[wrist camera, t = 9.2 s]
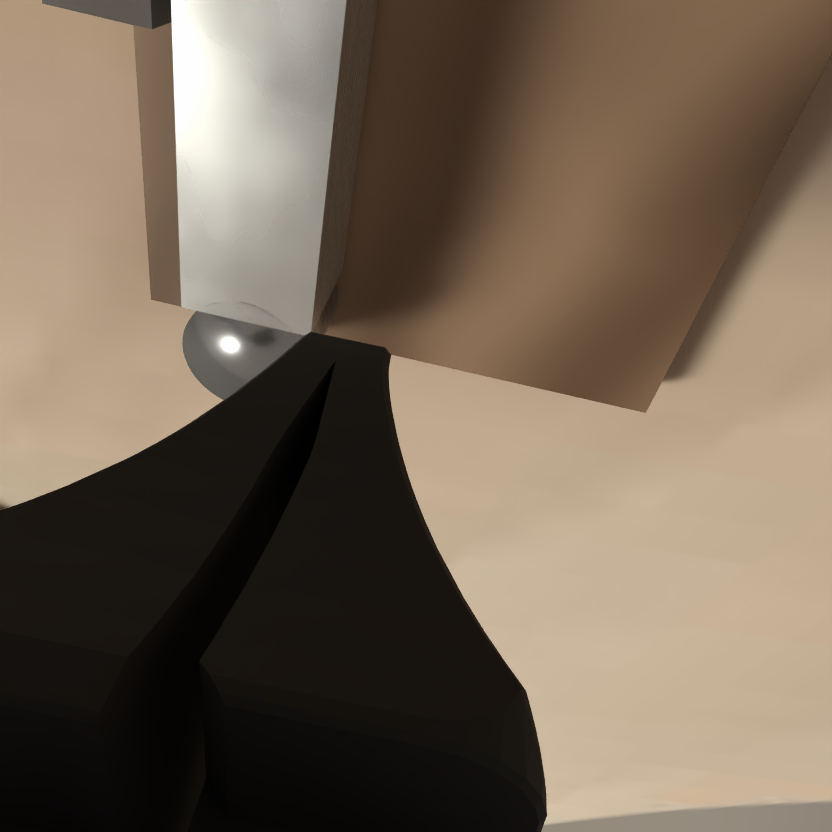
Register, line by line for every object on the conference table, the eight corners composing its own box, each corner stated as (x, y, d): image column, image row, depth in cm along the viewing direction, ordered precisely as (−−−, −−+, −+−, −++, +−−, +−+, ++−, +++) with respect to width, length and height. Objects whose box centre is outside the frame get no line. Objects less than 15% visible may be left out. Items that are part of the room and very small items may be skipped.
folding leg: (332, 346, 20) (301, 419, 17) (231, 323, 20) (183, 393, 17) (409, -237, 12) (376, -276, 9) (243, -278, 12) (160, -329, 9)
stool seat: (171, 276, 21) (91, 364, 17) (139, -493, 12) (-53, -691, 8) (638, 383, 21) (665, 494, 17) (967, -284, 12) (1185, -370, 8)
